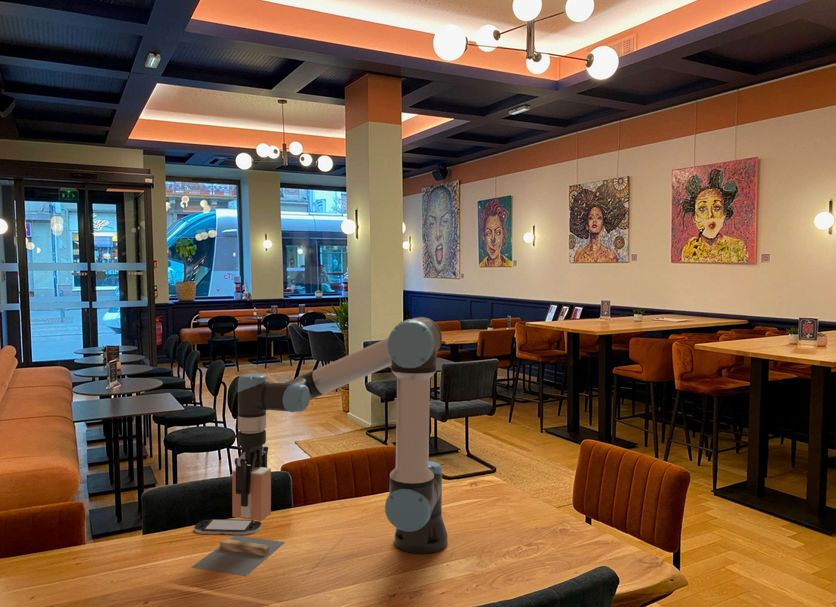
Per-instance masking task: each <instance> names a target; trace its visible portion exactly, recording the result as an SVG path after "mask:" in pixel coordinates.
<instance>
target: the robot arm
mask: <svg viewBox="0 0 836 607" xmlns="http://www.w3.org/2000/svg"><path fill="white" fill-rule="evenodd" d="M442 343H443V335H442V331H441V328H440V326H439V325H438V324H437V323H436V322H435V321H434V320H432V319H431V318H428V317H424V316H418V317H417V316H416V317H413V318H410V319H405V320H403V321H400V322H399V323H398V324H397V325H395V327H394V328H393V329H392V331H391V332H390V334H389V336H388V337H387V338H384V339H382V340H380V341H378V342H375V343H373V344H370V345H368V346H366V347H363V348H362V349H360V350H356V351H354V352H352V353H350V354H348V355H345V356H343V357H341V358H338V359H337V360H334V361H332V362H330V363H328V364H325V365H323V366H321V367H318V368H316V369H315V370H312V371H309V372H307V373H305V374H302V375H300V376H297V377H296V378H294V379H291V380H289V381H286V382H269V381H267V376H266V375H265V374H263V373H258V372H257V373H254V372H253V373H244V374H242V375H240V376H239V377H238V381H237V383H238V384H237V385H238V386H237V411H238V412H237V430H238V432H237V444H238V446H240V447H241V452H240V456H239V457H237V458H234V465H235V469H236V494H240V495H241V517H247V518H250V517H251V493H249V492H250V485H251V472H252V470H253V469H254V467H257V468H260V467H265V468H268V451H269V446H264V445H265V444H266V443H267V442H266V441H267V430H266V428H267V411H274V412H275V411H277V412H289V413H296V412H299V413H301V412H304V411H305V410H307V408H308V406H309V403H310V401H312V400H314V399H316V398H318V397H321V396H323V395H325V394H327V393H330V392H332V391H334V390H336V389H339V388H341V387H344V386H346V385H348V384H351V383H353V382H356V381H358V380H359V379H360V380H361V379H362V378H365V377H367V376H370V375H372V374H375V373H377V372H378V371H381V370H384V369H386V368H388V367H391V372H392V374H393V375H394V376H395V377H396V419H395V421H396V422H395V423H396V427H395V429H396V430H395V431H396V432H395V442H396V443H395V467H394V469H392V470H391V472H390V473H389V491H388V494H389V495H388V496H387V498H386V500H385V505H384V512H385V516H386V518H387V520H388V522H389V523H390V524H391V525H392V526H393V527H394V528H396V529H395V531H394V545H395V546H396V547H397V548H398V549H399V550H402V551H403V552H407V553H412V554H422V555H423V554H430V553H431V554H432V553H436V552H439V551H442V550H443V549H444V548H446V547H447V545H448V532H447V529H446V525H445V522H444V518H443V515H442V514H443V512H442V511H443V510H442V507H443V506H442V503H443V497H442V496H443V490H442V489H443V468H442V465H441V464H440V463H439V462H437V461H432V460H429V459H430V458H429V455H430V452H429V450H430V449H429V447H430V409H431V408H430V405H431V404H430V402H431V400H430V398H431V396H430V394H431V378H432V377H433V375H435V373H437V353H438V351H439V350H440V348H441V347H442V346H441V345H442Z"/></svg>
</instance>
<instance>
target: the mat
mask: <svg viewBox="0 0 836 607" xmlns="http://www.w3.org/2000/svg"><path fill="white" fill-rule="evenodd" d="M228 539H229V540H236V541H243V542H249V543H256V544H263V545H269V553H268V554H267V555H266V556H262V555H256V554H249V553H243V552H236V551H230V550H223V549H220V546H218V547H217V548H215V549H214V550H213V551H212V552H210V553H209V554H208V555H206V556H204V557H203V558H201V559H200V560H199V561H198V562H196V563H195V564H194V565H192V566H191V568H193V569H199V570H205V571H212V572H217V573H223V574H224V573H225V574H230V575H237V576H242V577H247V576H249V574H251V573H252V572H253V571H255V569H257V567H259V566H260V565H261V564H262V563H263V562H264V561H266V560H267V559H268V558H269V557H270V556H272V555H273V554H274V553H275V552H276V551H278V550H279V548H280V547H283V545H284V544H285V543H286V541H279V540H272V539H266V538H260V537H259V538H258V537H251V536H246V535H234V536H232V537H231V538H228Z"/></svg>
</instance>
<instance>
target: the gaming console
mask: <svg viewBox="0 0 836 607" xmlns="http://www.w3.org/2000/svg"><path fill="white" fill-rule="evenodd" d="M261 529H262V521H258V520H251V519H233V518H232V519H231V518H224V519H223V518H212V519H203V520H201V521H199V522H197V523H196V524H195V525H194V527H193V530H194V531H193V532H195V533H196V534H201V535H203V534H204V535H206V534H207V535H234V536H235V535H239V536H246V535H252V534H255V533H257V532H259V531H260V530H261Z"/></svg>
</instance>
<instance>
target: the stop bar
mask: <svg viewBox="0 0 836 607" xmlns="http://www.w3.org/2000/svg"><path fill="white" fill-rule="evenodd" d="M229 539H230V538H228V539H227V538H223V539H222V540H221V541H219V547H220V549H223V550H230V551H236V552H243V553H249V554H256V555H262V556H266V555H267V554H268V553H269V545H263V544H256V543H249V542H243V541H236V540H229Z"/></svg>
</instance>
